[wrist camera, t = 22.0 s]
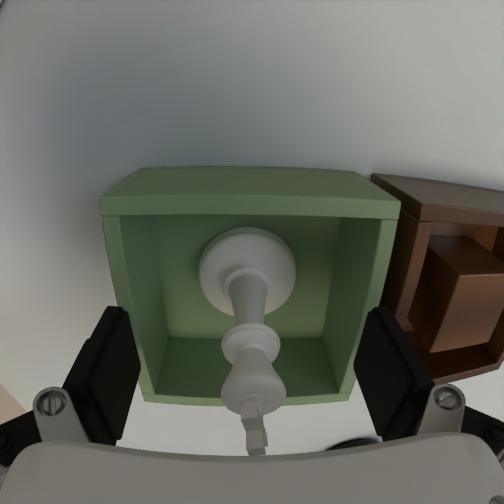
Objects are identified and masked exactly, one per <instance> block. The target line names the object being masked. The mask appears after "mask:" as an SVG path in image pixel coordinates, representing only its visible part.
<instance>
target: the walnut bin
mask: <svg viewBox="0 0 504 504" xmlns="http://www.w3.org/2000/svg"><path fill="white" fill-rule="evenodd" d="M371 182H372V183H374V184H375V185H377V186H378V187H380V188H381V189H383V190H384V191H386V192H387V193H389V194H390V195H392V196H393V197H395V198H396V199H398V200H399V201H401V207H400V213H399V218H398V220H397V228H396V233H395V238H394V243H393V248H392V253H391V257H390V262H389V266H388V270H387V275H386V279H385V283H384V287H383V291H382V295H381V299H380V303H379V306H378V307H386V306H387V307H389V309H390V310H391V312H392V313H393V315H394V316H395V318H396V320H397V321H398V323H399V324H400V326H401V328H402V329H403V331H404V332H405V334H406V336H407V337H408V339H409V340H410V342H411V343H412V345H413V347H414V348H415V350H416V352H417V353H418V355H419V357H420V358H421V360H422V362H423V364H424V365H425V367H426V369H427V370H428V372H429V374H430V376H431V377H432V379H433V381H434V383H435V385H438V384H440V383H450V382H454V381H458V380H462V379H466V378H469V377H473V376H477V375H480V374H484V373H487V372H490V371H494V370H497V369H499V367H500V366H501V364H502V362H503V361H504V308H503V310H502V313H501V315H500V317H499V319H498V322H497V324H496V326H495V328H494V330H493V332H492V335H491V337H490V339H489V341H488V342H486V343H481V344H477V345H472V346H467V347H462V348H456V349H451V350H445V351H440V352H434V353H429V351H428V350H427V348H426V346H425V345H424V343H423V342H422V340H421V339H420V337H419V336H418V334H417V333H416V331H415V329H414V328H413V326H412V325H411V323H410V322H409V320H408V319H407V316H408V313H409V310H410V307H411V304H412V301H413V298H414V294H415V291H416V288H417V284H418V281H419V277H420V274H421V270H422V266H423V263H424V259H425V255H426V251H427V247H428V243H429V238H430V236H436V237H460V238H473V239H474V240H476V241H477V242H478V243H480V244H481V245H482V246H484V247H485V248H486V249H488V250H489V251H490V252H492V253H493V254H494V255H495V256H497V257H498V258H499V259H500V260H502V261H503V262H504V192H502V191H497V190H491V189H486V188H480V187H474V186H468V185H462V184H456V183H449V182H442V181H435V180H428V179H420V178H412V177H403V176H394V175H385V174H375V173H373V174H372V180H371Z"/></svg>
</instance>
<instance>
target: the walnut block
mask: <svg viewBox="0 0 504 504" xmlns="http://www.w3.org/2000/svg"><path fill="white" fill-rule="evenodd" d="M503 308H504V262H503V261H502V260H500V259H499V258H498V257H497V256H495V255H494V254H493V253H492V252H490V251H489V250H488V249H486V248H485V247H484V246H482V245H481V244H480V243H478V242H477V241H476V240H474V239H473V238H460V237H436V236H430V238H429V243H428V247H427V251H426V255H425V259H424V263H423V266H422V270H421V274H420V277H419V281H418V284H417V288H416V291H415V294H414V298H413V301H412V304H411V307H410V310H409V313H408V316H407V319H408V320H409V322H410V323H411V325H412V326H413V328H414V329H415V331H416V333H417V334H418V336H419V337H420V339H421V340H422V342H423V343H424V345H425V346H426V348H427V350H428V351H429V353H434V352H440V351H445V350H451V349H456V348H462V347H467V346H472V345H477V344H481V343H486V342H488V341H489V339H490V337H491V335H492V332H493V330H494V328H495V326H496V324H497V322H498V319H499V317H500V315H501V313H502V310H503Z"/></svg>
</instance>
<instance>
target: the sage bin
mask: <svg viewBox="0 0 504 504" xmlns="http://www.w3.org/2000/svg"><path fill="white" fill-rule="evenodd" d="M99 202H100V210H101V216H102V223H103V230H104V236H105V242H106V248H107V254H108V260H109V265H110V271H111V276H112V281H113V286H114V291H115V295H116V300H117V304H118V307H123V309H124V311H128V314H129V318H130V322H131V326H132V331H133V335H134V339H135V343H136V347H137V351H138V355H139V358H140V362H141V371H140V374H139V378H138V382H139V385H140V388H141V391H142V395H143V398H144V401H146V402H156V403H167V404H181V405H199V406H225V405H224V404H223V402H222V400H221V389H222V387H223V384H224V382H225V380H226V378H227V377H228V375H229V374H230V372H231V369H232V366H233V364H231V363H230V362H229V361H228V360H227V359H226V358H225V356H224V353H223V351H222V347H221V343H222V339H223V337H224V335H225V334H226V333H227V332H228V331H229V330H230V329H231V328H233V327H235V326H236V322H235V317H234V316H231V315H228V314H226V313H224V312H222V311H220V310H218V309H217V308H215V307H214V306H213V305H212V304H211V303H210V302H209V301H208V300H207V298H206V297H205V295H204V294H203V292H202V289H201V286H200V282H199V262H200V258H201V255H202V253H203V251H204V250H205V248H206V247H207V245H208V244H209V243H210V242H211V241H212V240H213V239H214V238H216V237H217V236H218V235H220V234H222V233H224V232H226V231H228V230H231V229H234V228H240V227H256V228H261V229H265V230H267V231H270V232H272V233H274V234H276V235H277V236H278V237H280V238H281V239H282V240H283V241H284V242H285V243H286V244H287V245H288V246H289V248H290V250H291V251H292V253H293V256H294V259H295V263H296V281H295V286H294V289H293V291H292V293H291V295H290V296H289V298H288V299H287V300H286V301H285V302H284V303H283V304H282V305H281V306H280V307H279V308H277V309H276V310H274V311H272V312H271V313H268V314H266V315H264V325H266V326H268V327H270V328H272V329H273V330H274V331H275V332H276V333H277V334H278V336H279V338H280V343H281V345H280V350H279V353H278V355H277V357H276V359H275V360H274V361H273V362H272V363H271V364H272V367H273V369H274V370H275V372H276V373H277V374H278V375H279V377H280V379H281V380H282V382H283V384H284V386H285V389H286V398H285V400H284V402H283V404H282V405H281V406H285V405H303V404H317V403H328V402H338V401H347V400H349V397H350V394H351V391H352V389H353V386H354V383H355V380H356V378H357V377H356V375H355V372H354V368H353V363H354V359H355V356H356V352H357V349H358V346H359V342H360V339H361V335H362V332H363V328H364V325H365V321H366V317H367V314H368V312H369V311H372V309H373V308H374V307H378V306H379V303H380V299H381V295H382V291H383V287H384V283H385V279H386V275H387V270H388V266H389V262H390V257H391V253H392V248H393V243H394V238H395V233H396V228H397V220H398V218H399V213H400V207H401V201H399V200H398V199H396V198H395V197H393V196H392V195H390V194H389V193H387V192H386V191H384V190H383V189H381V188H380V187H378V186H377V185H375V184H374V183H372V182H370V181H369V180H367V179H366V178H364V177H362V176H361V175H359V174H357V173H356V172H352V171H339V170H324V169H306V168H284V167H246V166H197V167H159V168H141V169H140V170H138V171H136V172H135V173H133V174H132V175H130V176H129V177H127V178H126V179H125V180H123V181H122V182H120V183H119V184H117V185H116V186H114V187H113V188H112V189H110V190H109V191H107V192H106V193H104V194H103V195H102V196H100V197H99Z"/></svg>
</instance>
